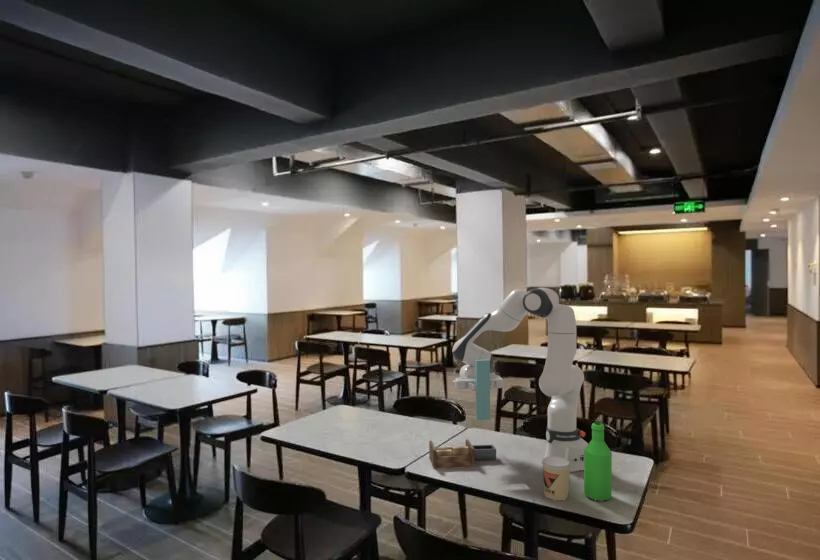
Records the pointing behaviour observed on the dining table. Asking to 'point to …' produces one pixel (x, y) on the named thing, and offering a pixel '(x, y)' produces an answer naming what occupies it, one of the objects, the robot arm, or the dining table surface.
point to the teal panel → (482, 389)
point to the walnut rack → (451, 457)
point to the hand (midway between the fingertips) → (483, 387)
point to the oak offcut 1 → (444, 452)
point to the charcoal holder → (484, 453)
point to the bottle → (597, 466)
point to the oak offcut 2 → (460, 450)
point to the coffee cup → (556, 477)
